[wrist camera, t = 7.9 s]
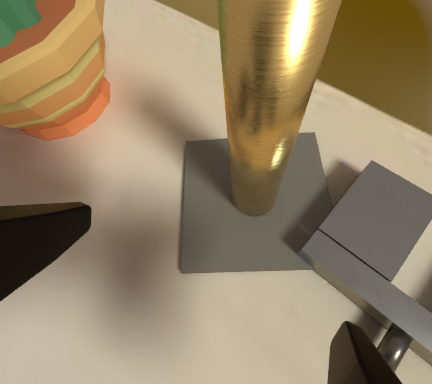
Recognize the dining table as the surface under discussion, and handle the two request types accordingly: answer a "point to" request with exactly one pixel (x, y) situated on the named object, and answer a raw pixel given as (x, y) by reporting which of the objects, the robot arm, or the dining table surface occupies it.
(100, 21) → the potted cactus
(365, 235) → the vise
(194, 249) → the rubber mat
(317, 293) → the dining table surface
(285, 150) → the brass rod
